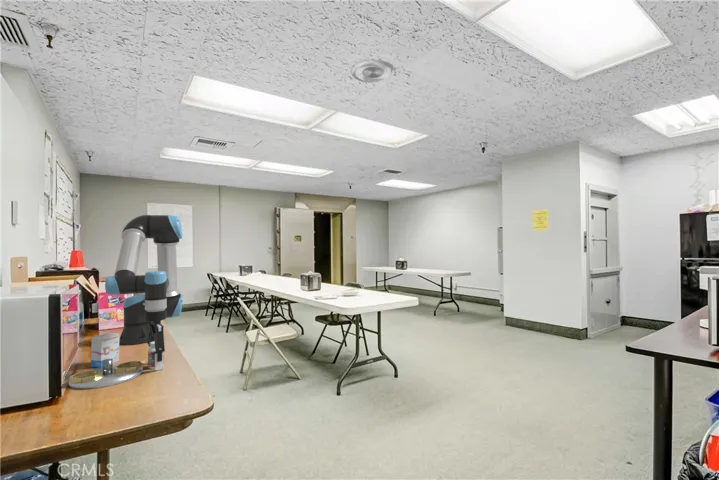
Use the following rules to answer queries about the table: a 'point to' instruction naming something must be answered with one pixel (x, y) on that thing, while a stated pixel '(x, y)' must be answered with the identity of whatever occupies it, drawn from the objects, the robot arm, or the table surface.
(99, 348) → the ink box
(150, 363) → the pill bottle
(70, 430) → the table surface
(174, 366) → the table surface
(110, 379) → the carrier
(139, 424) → the table surface
